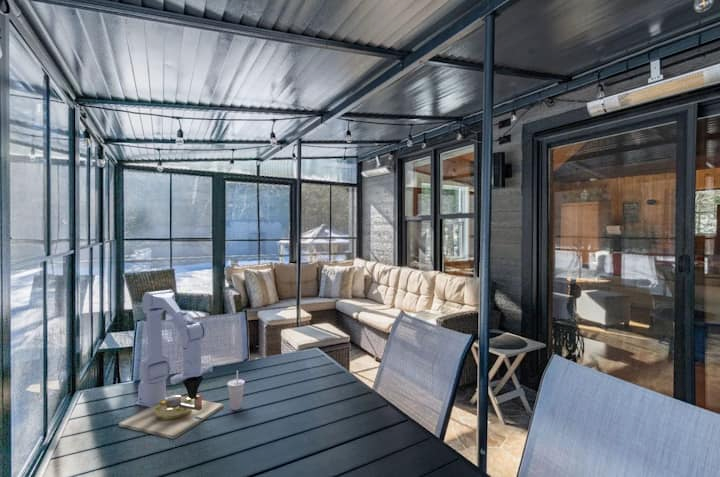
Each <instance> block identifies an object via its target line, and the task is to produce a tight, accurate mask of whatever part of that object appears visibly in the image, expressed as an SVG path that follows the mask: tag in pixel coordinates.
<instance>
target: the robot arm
mask: <svg viewBox="0 0 720 477" xmlns="http://www.w3.org/2000/svg"><path fill="white" fill-rule="evenodd" d="M141 308H142V313H144V314H146V332H147V333H146V334H147V335H146V336H147V355H146V357H144V358H143V359H142V360H141V361H140V363H139V370H138V375H139V380H140V382H139V384H138V388H137V394H138V395H137V396H138V397H137V402H136V405H137V406H142V407H147V408H149V407H151V406H153V405H155V404H157V403H159V401H160V400H162V399H167V398H168V397H167V386H166V384H167V381H166V380H167V379H168V377H169V375H171V372H172V366H171V363H170V357H169V356H168V355H166V354H164V352H163V333H162V331H163V328H162V314H163V312H164V311H166V313H167V314H168V315H170V317H171V323H172V324H173V326H174V327H175V328H176V329H177V331H178V332H179V338H180V344H181V347H182V371H181V372H180V373H178V374H175V375H173V376H171V377H170V380H169V381H170V384H171V385H176V384H177V383H181V382H182V383H183V385H184V387H185V390H186V392H187V396H188V397H189V398H190V399H194V398H196V395H198V390H199V387H200V386H201V383H202V382H203V380H204V377H203V375H202V374H206V373H212V372H213V365H210V364H208V365H203V366H202V339H203V338H205V335H206V332H205V331H206V329H205V327H204V325H203V323H202V322H200V321H195V320H194V319H193V318H192V316H191V315H190V314H189V313H188V312H187V311H186V310H181V308H180V307H179V305H178V303H177V302H176V295H175V292H174V291H173V290H172V289H166V290H165V289H164V290H155V291H146V292H144V294H143V295H142V299H141Z"/></svg>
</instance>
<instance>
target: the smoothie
mask: <svg viewBox="0 0 720 477" xmlns="http://www.w3.org/2000/svg"><path fill="white" fill-rule="evenodd" d="M245 382H246V381H245V380H244V379H241V378H240V379H239V370H236V379H235V378H234V379H232V380H229V381H228V382H227V383H226V384H227V385H226V386H227V387H226V388H227V389H228V396H229V403H230V405H229V406H230V410H232V411H238V410H240V409H241V408H242V404H243V397H244V389H245V388H244V386H245V385H246V383H245Z"/></svg>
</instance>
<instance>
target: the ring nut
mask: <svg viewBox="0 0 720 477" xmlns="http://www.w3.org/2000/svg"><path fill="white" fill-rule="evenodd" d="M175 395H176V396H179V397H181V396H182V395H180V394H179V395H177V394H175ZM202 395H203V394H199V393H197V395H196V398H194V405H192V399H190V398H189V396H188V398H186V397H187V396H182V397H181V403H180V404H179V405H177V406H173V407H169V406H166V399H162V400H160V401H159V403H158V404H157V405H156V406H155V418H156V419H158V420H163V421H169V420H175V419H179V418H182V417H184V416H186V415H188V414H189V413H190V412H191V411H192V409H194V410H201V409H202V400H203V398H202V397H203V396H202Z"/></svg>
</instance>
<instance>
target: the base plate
mask: <svg viewBox="0 0 720 477" xmlns="http://www.w3.org/2000/svg"><path fill="white" fill-rule="evenodd" d="M176 395H177V394H173V395H170V396H168V397H167V399H166V406H169V407H173V406H177V405H179V404H180V403H181V397H183V396H182V395H181V397H179V396H176ZM185 397H186V398H188V397H189V396H188V397H187V396H185ZM157 404H158V403H157ZM157 404H155V405H153V406H151V407H147V408H145V409H143V410H142V411H140V412H138V413H136V414H133V415H132V416H130V417H127V418H125V419H124V420H123V421H120V422H118V427H121V428H124V429H129V430H133V431H137V432H141V433H146V434H151V435H155V436H160V437H164V438H167V439H173V440H174V439H176V438H178V437H179V436H181V435H182V434H184V433H185V432H187V431H188V430H190V429H191V428H194V427H195V426H197V424H199V423H201V422H202V421H204V420H206V419H207V418H209V417H211V415H213V414H215V413H216V412H218V411H219V410H221V409H222V408H224V404H223V403H219V402H214V401H208V400H203V399H202V409H201V410H194V409H192V411H191V412H190V413H189V414H188V415H186V416H184V417H182V418H179V419H175V420H169V421H163V420H158V419H156V418H155V406H156V405H157ZM192 405H194V399H192Z"/></svg>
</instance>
